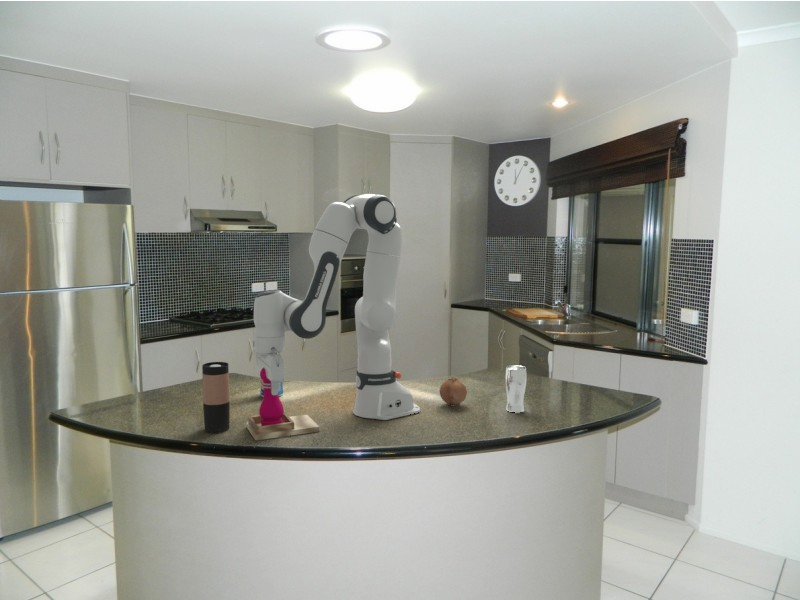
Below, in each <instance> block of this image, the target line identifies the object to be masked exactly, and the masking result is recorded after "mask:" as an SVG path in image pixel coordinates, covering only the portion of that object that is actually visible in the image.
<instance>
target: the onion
mask: <svg viewBox="0 0 800 600" xmlns="http://www.w3.org/2000/svg"><path fill="white" fill-rule="evenodd" d="M467 392H468V391H467V388H466V385H465V384H464V383H463V381H460V380H459V379H458V378H457V377H454V376H453V377H451V378H448V379H446V380H444V381H443V383H442V384H441V385H440V387H439V396H440V398H441V400H442V401H443V402H444V403H445V404H447V405H448V406H452V407H453V405H454V406H457V405H459V404H460V405H461V403H462V402H464V401H466V398H467V395H468V393H467Z"/></svg>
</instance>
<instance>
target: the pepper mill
mask: <svg viewBox="0 0 800 600" xmlns="http://www.w3.org/2000/svg"><path fill="white" fill-rule="evenodd" d="M259 372H260V371H259ZM259 374H260V375H259V376H260V377H261V379H262V380H263V382H262V387H263V388H264V397H262V401H261V404H260V406H259V409H258V411H259V412H258V414H259V415H260V416H261V417H262V418H263V419H262V420H261V426H265V425H273V424H280V423H283V422H282V418H281V416H282V415H283V413H284V412H285V411H284V409H285V407H284V405H283V403H282V401H281V398H280V396H279V395H278V394H277V395H272V394H271V385H272V384H271V381H270V380H269V379H268V378H267V377H266V371H265V368H262V370H261V372H260V373H259Z"/></svg>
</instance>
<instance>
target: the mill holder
mask: <svg viewBox="0 0 800 600" xmlns="http://www.w3.org/2000/svg"><path fill="white" fill-rule="evenodd" d="M247 418H248V419H247V420H248V421H247V422H246V428H247V430H248V431H249V433H250V434H251V436H252V437H253V439H254V441H262V440H268V439H269V440H270V439H274V438H275V439H276V438H283V437H289V436H290V435H291V436H297V435H304V434H311V433H317V432H320V425H319V424H318V423H316V422H315V421H314V420H313V419H312V418H311V417H310V416H309V415H308V414H301V415H299V414H298V415H293V416H289V415H288V414H287V413H286V412H285V411H284V413H283V415H282V416H281V418H282V422H283V423H280V424H273V425H265V426H261V420H262V419H263V418H262V417H261V416H260V415H252V416H247ZM291 436H290V437H291Z"/></svg>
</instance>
